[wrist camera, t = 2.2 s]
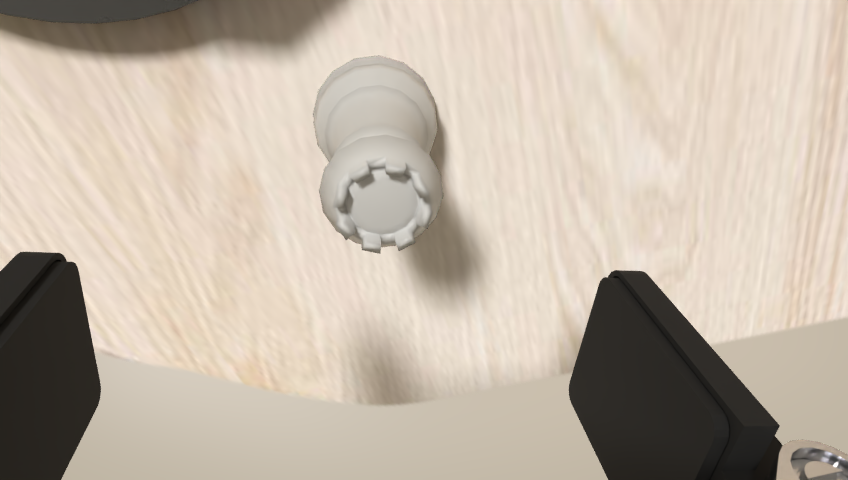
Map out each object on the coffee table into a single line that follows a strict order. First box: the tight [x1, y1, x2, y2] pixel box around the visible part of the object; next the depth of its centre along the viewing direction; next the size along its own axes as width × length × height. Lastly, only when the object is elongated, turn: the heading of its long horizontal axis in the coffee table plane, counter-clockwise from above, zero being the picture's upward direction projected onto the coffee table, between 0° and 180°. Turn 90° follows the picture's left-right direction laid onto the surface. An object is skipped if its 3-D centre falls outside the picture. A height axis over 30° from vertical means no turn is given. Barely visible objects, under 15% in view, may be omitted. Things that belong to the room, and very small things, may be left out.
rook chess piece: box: [313, 56, 443, 253], centre depth 18 cm, size 4×4×8 cm
